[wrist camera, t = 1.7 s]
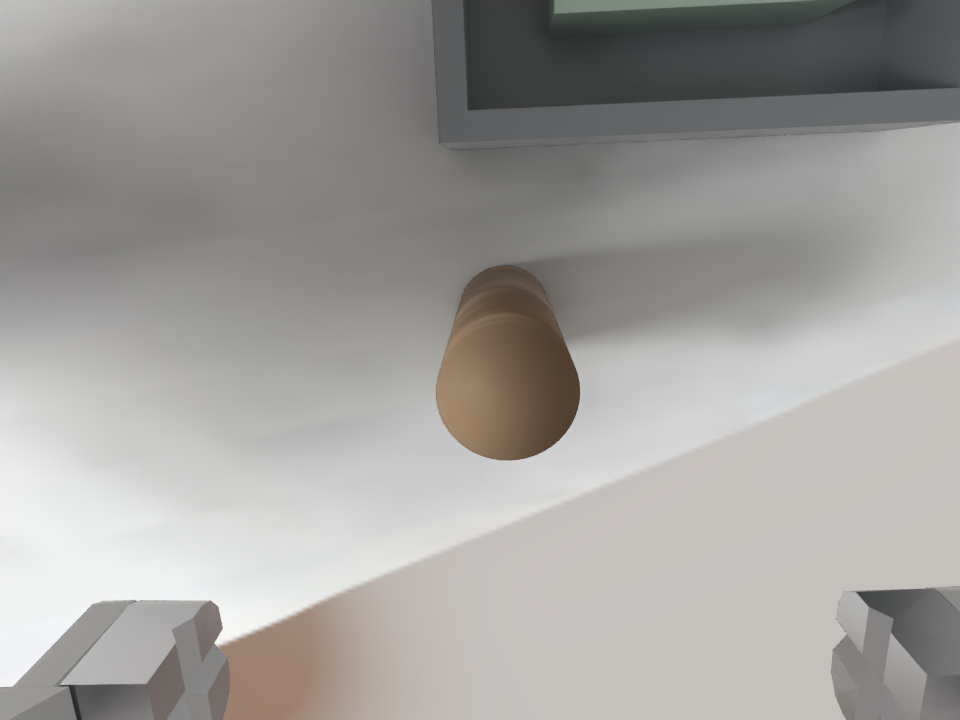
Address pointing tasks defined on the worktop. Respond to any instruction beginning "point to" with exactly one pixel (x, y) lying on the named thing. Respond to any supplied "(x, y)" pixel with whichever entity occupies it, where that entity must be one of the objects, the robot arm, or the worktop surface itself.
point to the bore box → (690, 69)
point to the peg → (506, 369)
